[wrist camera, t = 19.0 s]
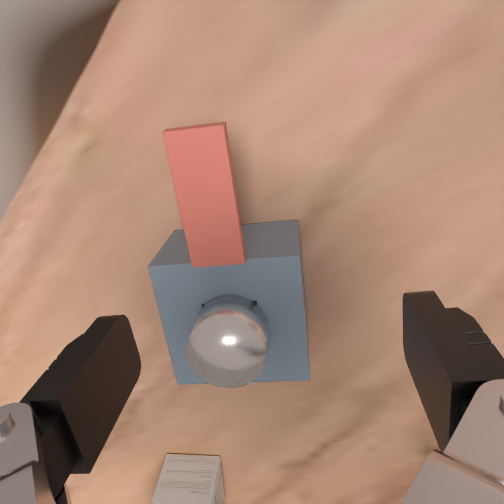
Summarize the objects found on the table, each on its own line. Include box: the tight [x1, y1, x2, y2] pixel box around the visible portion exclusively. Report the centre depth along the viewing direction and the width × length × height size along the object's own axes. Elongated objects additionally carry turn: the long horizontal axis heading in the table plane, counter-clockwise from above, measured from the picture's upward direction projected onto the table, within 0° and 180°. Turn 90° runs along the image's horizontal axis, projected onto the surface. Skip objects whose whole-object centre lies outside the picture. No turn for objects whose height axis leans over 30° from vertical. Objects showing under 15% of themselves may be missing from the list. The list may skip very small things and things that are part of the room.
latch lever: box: [162, 122, 246, 268], centre depth 29 cm, size 10×4×1 cm, turn 7°
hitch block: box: [148, 220, 310, 384], centre depth 38 cm, size 12×12×8 cm
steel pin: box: [186, 294, 269, 388], centre depth 35 cm, size 6×6×11 cm
